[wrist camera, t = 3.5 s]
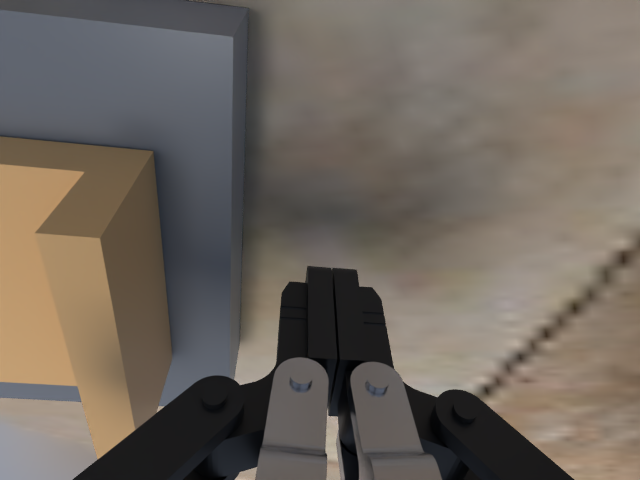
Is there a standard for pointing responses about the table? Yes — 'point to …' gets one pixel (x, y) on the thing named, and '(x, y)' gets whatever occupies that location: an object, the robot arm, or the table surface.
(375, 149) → the table surface
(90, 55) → the socket plate
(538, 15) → the table surface
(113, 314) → the tan l-shaped block
